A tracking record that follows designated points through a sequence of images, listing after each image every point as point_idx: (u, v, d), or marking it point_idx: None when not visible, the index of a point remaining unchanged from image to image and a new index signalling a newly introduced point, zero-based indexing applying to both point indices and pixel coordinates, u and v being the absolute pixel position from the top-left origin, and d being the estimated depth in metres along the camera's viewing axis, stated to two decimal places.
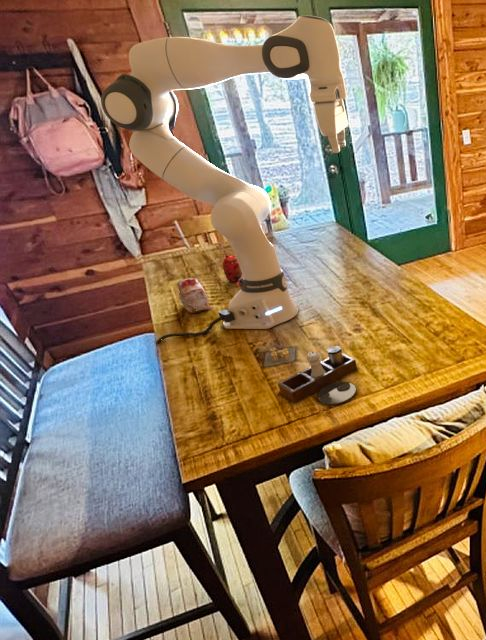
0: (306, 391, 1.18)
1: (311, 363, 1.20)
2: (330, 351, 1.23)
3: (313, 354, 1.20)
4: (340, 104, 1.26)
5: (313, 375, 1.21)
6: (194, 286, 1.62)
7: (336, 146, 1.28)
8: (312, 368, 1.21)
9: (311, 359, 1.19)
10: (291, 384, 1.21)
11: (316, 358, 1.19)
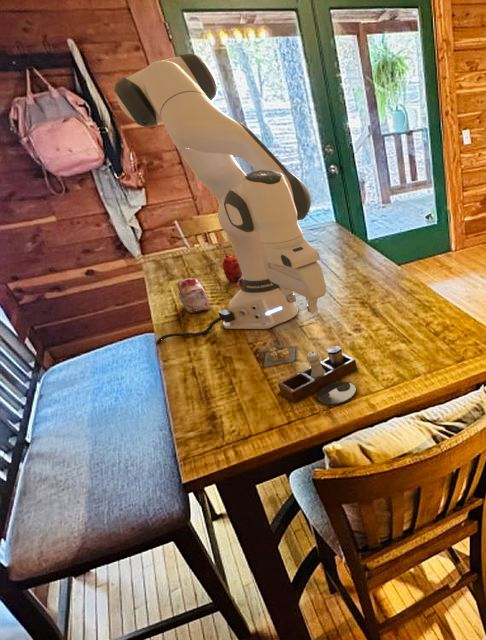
0: (306, 391, 1.18)
1: (311, 363, 1.20)
2: (330, 351, 1.23)
3: (313, 354, 1.20)
4: None
5: (313, 375, 1.21)
6: (194, 286, 1.62)
7: (315, 305, 1.11)
8: (312, 368, 1.21)
9: (311, 359, 1.19)
10: (291, 384, 1.21)
11: (316, 358, 1.19)
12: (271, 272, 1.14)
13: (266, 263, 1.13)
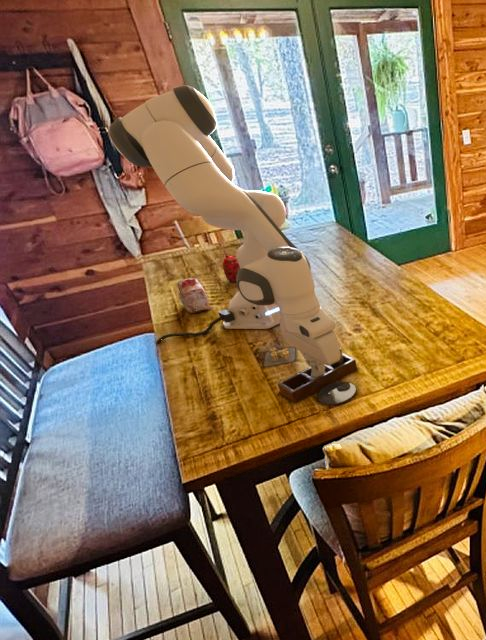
0: (306, 391, 1.18)
1: (311, 363, 1.20)
2: None
3: None
4: None
5: (313, 375, 1.21)
6: (194, 286, 1.62)
7: (322, 364, 1.20)
8: (312, 368, 1.21)
9: (311, 359, 1.19)
10: (291, 384, 1.21)
11: None
12: (287, 335, 1.20)
13: (283, 327, 1.20)
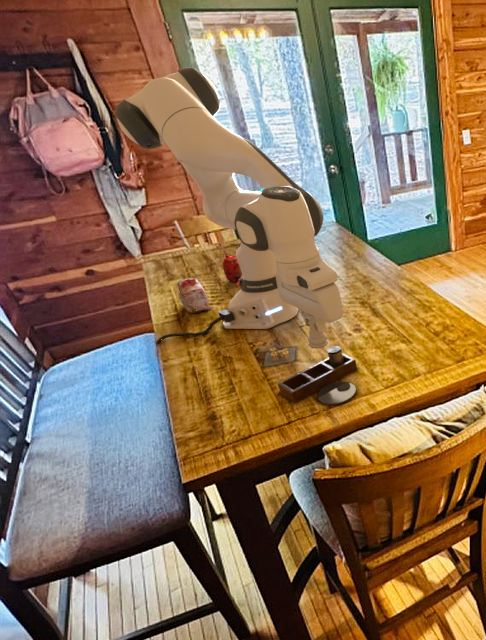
0: (306, 391, 1.18)
1: (310, 322, 1.07)
2: (330, 351, 1.23)
3: None
4: None
5: (311, 337, 1.09)
6: (194, 286, 1.62)
7: (323, 324, 1.07)
8: (311, 328, 1.08)
9: (310, 317, 1.06)
10: (291, 384, 1.21)
11: None
12: (284, 292, 1.08)
13: (279, 282, 1.07)
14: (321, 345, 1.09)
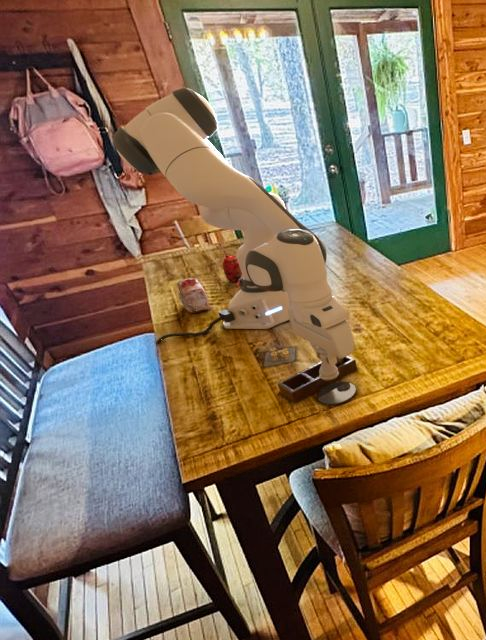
0: (306, 391, 1.18)
1: (322, 356, 1.11)
2: None
3: None
4: None
5: (323, 369, 1.13)
6: (194, 286, 1.62)
7: (334, 357, 1.11)
8: (322, 361, 1.12)
9: (322, 351, 1.11)
10: (291, 384, 1.21)
11: None
12: (297, 326, 1.12)
13: (292, 317, 1.12)
14: (332, 377, 1.14)
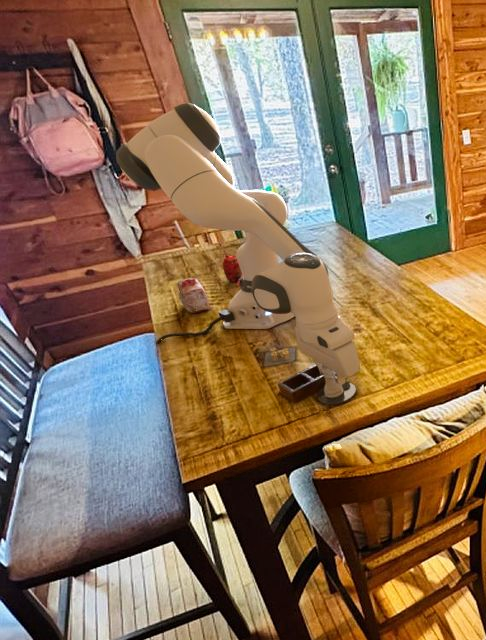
0: (306, 391, 1.18)
1: (325, 375, 1.14)
2: None
3: None
4: None
5: (327, 388, 1.15)
6: (194, 286, 1.62)
7: (343, 377, 1.13)
8: (326, 380, 1.15)
9: (325, 371, 1.13)
10: (291, 384, 1.21)
11: (331, 370, 1.13)
12: (303, 345, 1.15)
13: (298, 336, 1.14)
14: (337, 394, 1.16)
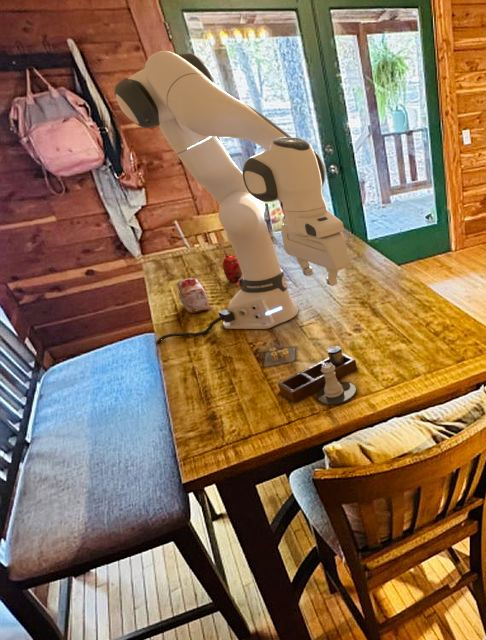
0: (306, 391, 1.18)
1: (325, 375, 1.14)
2: (330, 351, 1.23)
3: (327, 366, 1.14)
4: None
5: (327, 388, 1.15)
6: (194, 286, 1.62)
7: (334, 278, 1.10)
8: (326, 380, 1.15)
9: (326, 371, 1.13)
10: (291, 384, 1.21)
11: (331, 370, 1.13)
12: (290, 244, 1.12)
13: (285, 234, 1.11)
14: (337, 394, 1.16)
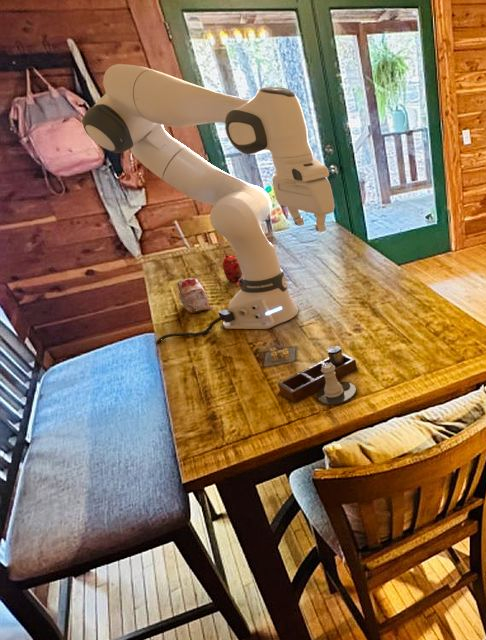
0: (306, 391, 1.18)
1: (325, 375, 1.14)
2: (330, 351, 1.23)
3: (327, 366, 1.14)
4: None
5: (327, 388, 1.15)
6: (194, 286, 1.62)
7: (323, 224, 1.16)
8: (326, 380, 1.15)
9: (326, 371, 1.13)
10: (291, 384, 1.21)
11: (331, 370, 1.13)
12: (281, 194, 1.18)
13: (276, 184, 1.18)
14: (337, 394, 1.16)
